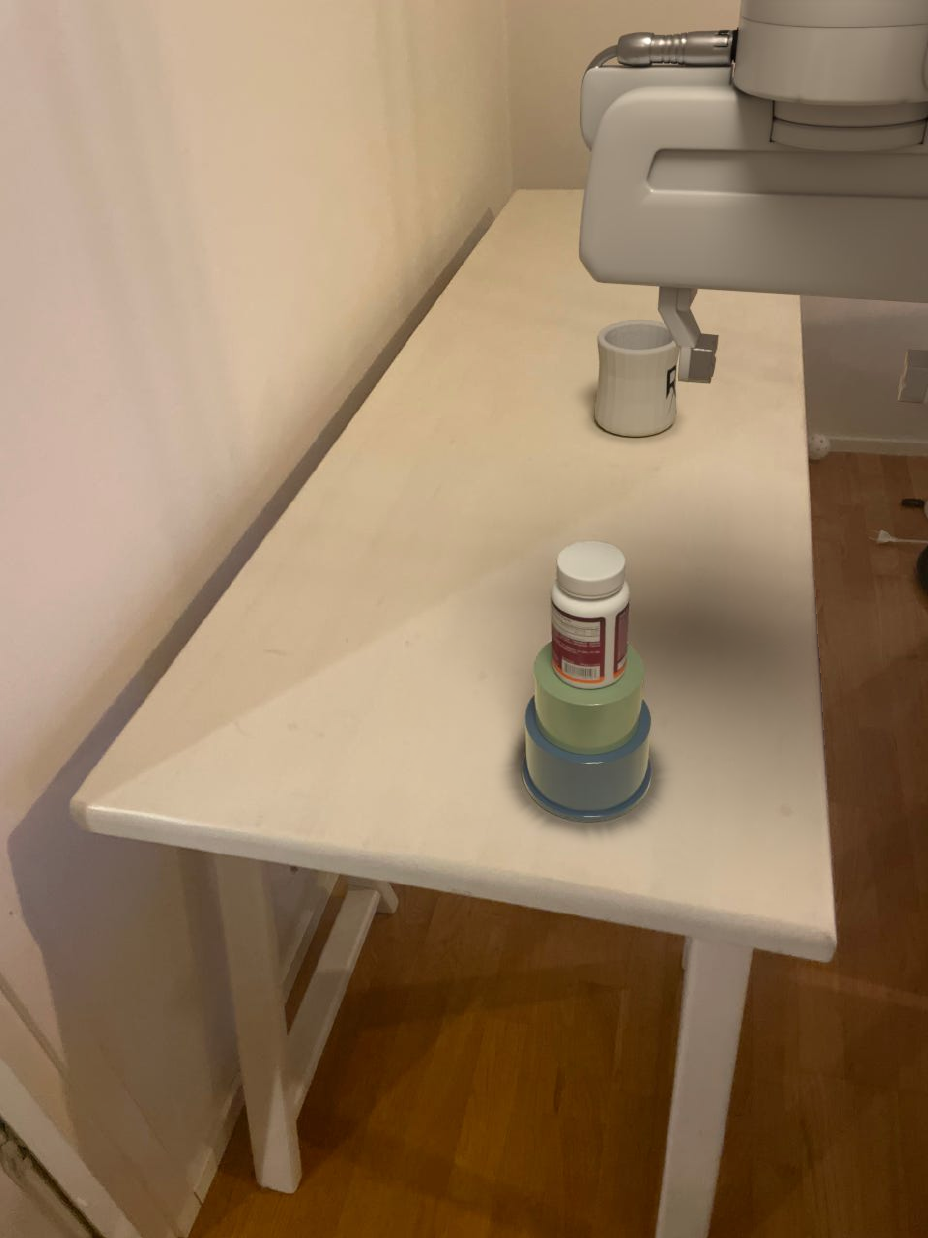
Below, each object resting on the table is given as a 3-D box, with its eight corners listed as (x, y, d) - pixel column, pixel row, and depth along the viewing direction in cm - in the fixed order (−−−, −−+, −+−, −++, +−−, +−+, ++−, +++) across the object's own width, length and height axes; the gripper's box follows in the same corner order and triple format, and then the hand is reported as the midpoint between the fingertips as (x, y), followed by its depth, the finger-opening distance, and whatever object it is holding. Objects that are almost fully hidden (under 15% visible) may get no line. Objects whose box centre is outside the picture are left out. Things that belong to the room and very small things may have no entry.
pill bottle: (598, 632, 62) (602, 527, 57) (641, 674, 59) (648, 566, 54) (537, 657, 61) (534, 551, 56) (577, 701, 58) (578, 593, 52)
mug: (674, 441, 102) (681, 353, 95) (590, 438, 104) (592, 351, 97) (677, 390, 111) (684, 307, 105) (600, 388, 113) (602, 306, 107)
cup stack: (662, 740, 68) (672, 635, 62) (635, 836, 62) (644, 729, 55) (542, 715, 71) (540, 612, 65) (505, 805, 64) (499, 700, 58)
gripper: (559, 47, 34) (559, 395, 43) (1218, 36, 28) (1063, 446, 37) (600, 20, 39) (593, 341, 48) (1177, 6, 33) (1047, 378, 41)
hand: (802, 387), depth 42 cm, fingers open, 8 cm apart
